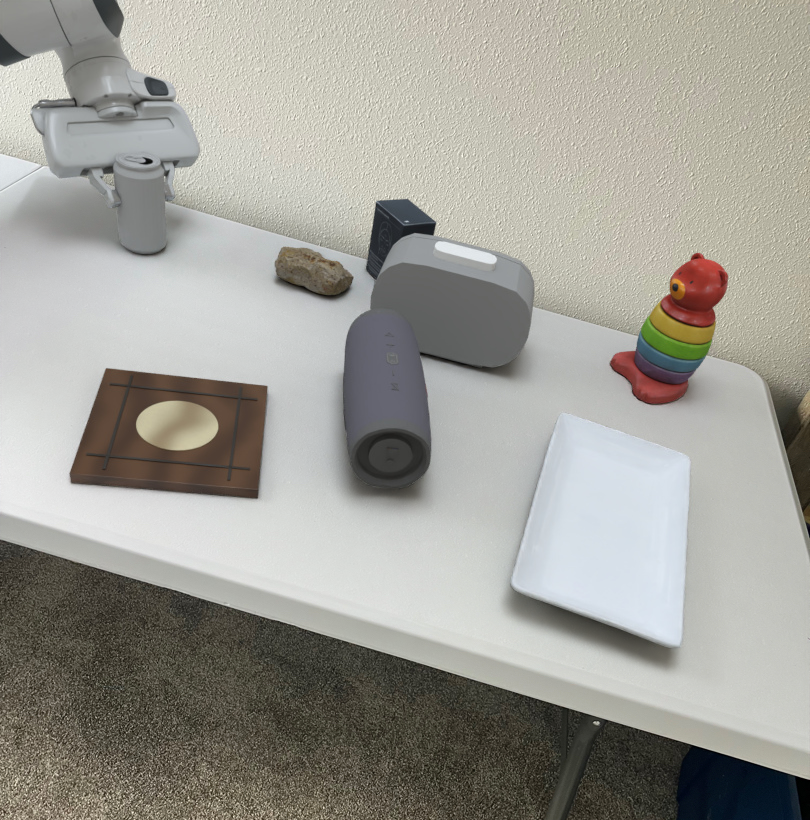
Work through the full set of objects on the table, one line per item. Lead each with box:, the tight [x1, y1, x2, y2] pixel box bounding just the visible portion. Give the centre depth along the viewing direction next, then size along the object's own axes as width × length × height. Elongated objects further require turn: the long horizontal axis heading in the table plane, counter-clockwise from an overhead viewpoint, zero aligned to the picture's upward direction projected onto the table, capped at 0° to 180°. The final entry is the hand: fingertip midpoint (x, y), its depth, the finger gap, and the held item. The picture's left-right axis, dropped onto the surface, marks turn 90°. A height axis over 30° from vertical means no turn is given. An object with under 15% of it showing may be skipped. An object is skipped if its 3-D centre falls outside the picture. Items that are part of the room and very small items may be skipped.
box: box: [365, 198, 437, 280], centre depth 113 cm, size 8×6×11 cm
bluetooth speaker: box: [342, 308, 432, 490], centre depth 87 cm, size 23×9×10 cm, turn 4°
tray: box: [510, 412, 692, 650], centre depth 84 cm, size 17×31×4 cm, turn 163°
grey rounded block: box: [369, 233, 535, 369], centre depth 102 cm, size 21×10×13 cm, turn 80°
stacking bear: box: [609, 252, 729, 405], centre depth 104 cm, size 11×10×18 cm
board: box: [68, 367, 269, 499], centre depth 84 cm, size 18×18×1 cm
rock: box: [274, 246, 354, 296], centre depth 110 cm, size 8×11×4 cm
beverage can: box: [113, 151, 168, 255], centre depth 106 cm, size 6×6×12 cm
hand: (143, 202), depth 106 cm, fingers closed on beverage can, 6 cm apart
